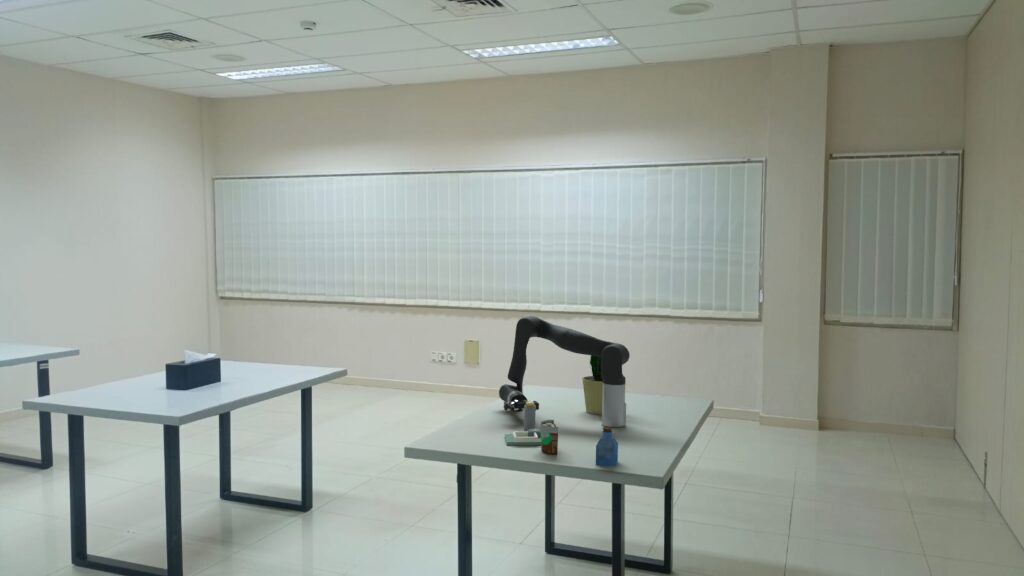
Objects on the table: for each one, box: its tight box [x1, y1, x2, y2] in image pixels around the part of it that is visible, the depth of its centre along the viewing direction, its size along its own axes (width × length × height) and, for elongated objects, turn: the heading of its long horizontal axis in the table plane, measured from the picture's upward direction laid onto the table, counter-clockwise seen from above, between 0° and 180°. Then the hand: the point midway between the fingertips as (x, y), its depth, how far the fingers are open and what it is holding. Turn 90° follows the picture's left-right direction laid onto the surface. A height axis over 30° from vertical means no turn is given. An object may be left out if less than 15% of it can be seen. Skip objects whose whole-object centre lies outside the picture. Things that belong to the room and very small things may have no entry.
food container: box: [538, 419, 559, 456], centre depth 261 cm, size 12×6×10 cm, turn 5°
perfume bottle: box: [595, 426, 619, 467], centre depth 247 cm, size 6×6×12 cm
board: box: [504, 428, 541, 446], centre depth 274 cm, size 14×12×3 cm
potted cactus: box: [582, 355, 603, 415], centre depth 326 cm, size 15×15×30 cm
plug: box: [523, 401, 537, 432], centre depth 285 cm, size 4×4×12 cm
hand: (524, 409), depth 296 cm, fingers open, 8 cm apart
